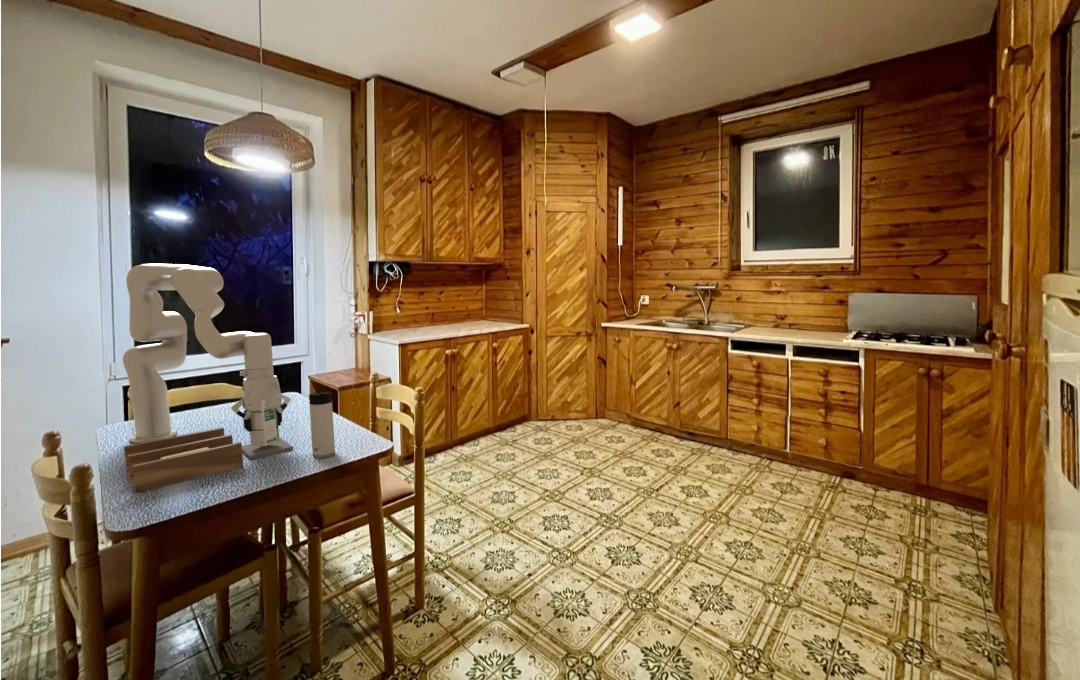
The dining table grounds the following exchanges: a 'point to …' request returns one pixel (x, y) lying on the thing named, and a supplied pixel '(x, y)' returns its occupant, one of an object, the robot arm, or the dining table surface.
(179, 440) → the walnut rack
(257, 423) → the syrup box
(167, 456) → the upper offcut
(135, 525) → the dining table surface
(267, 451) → the rubber mat
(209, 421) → the dining table surface
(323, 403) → the travel mug
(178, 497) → the dining table surface
